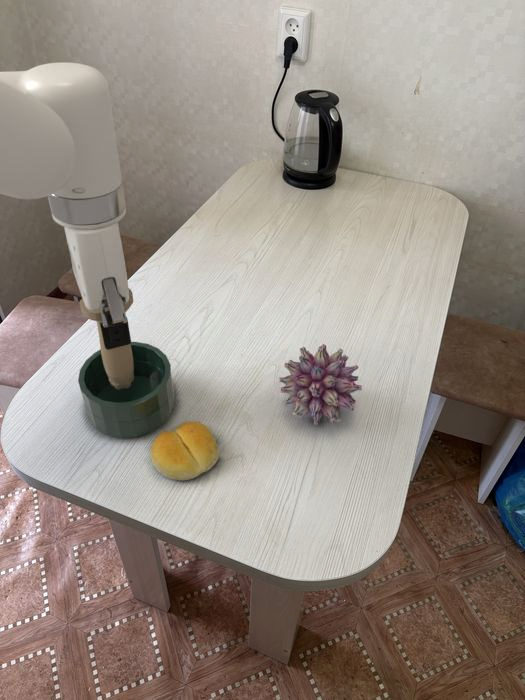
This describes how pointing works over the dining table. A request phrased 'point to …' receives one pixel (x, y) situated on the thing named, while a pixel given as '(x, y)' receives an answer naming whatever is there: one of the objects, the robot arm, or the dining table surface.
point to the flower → (320, 384)
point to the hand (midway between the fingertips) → (112, 330)
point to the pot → (129, 394)
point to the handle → (114, 350)
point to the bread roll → (185, 451)
